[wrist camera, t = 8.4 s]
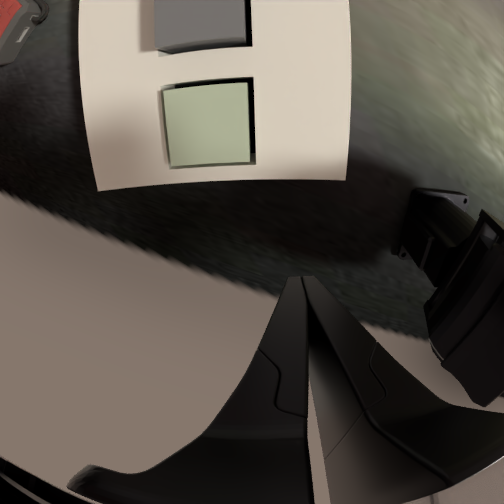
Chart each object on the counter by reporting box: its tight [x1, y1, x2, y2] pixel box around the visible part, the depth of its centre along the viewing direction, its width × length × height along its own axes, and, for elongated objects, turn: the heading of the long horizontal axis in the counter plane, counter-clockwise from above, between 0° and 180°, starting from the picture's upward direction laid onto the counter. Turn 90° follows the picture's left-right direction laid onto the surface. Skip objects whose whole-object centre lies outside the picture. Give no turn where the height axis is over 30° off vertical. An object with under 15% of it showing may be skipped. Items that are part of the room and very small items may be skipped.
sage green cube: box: [163, 83, 251, 166], centre depth 15 cm, size 4×4×4 cm
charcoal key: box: [154, 0, 247, 54], centre depth 11 cm, size 4×4×4 cm
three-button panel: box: [79, 0, 351, 191], centre depth 12 cm, size 16×21×3 cm
